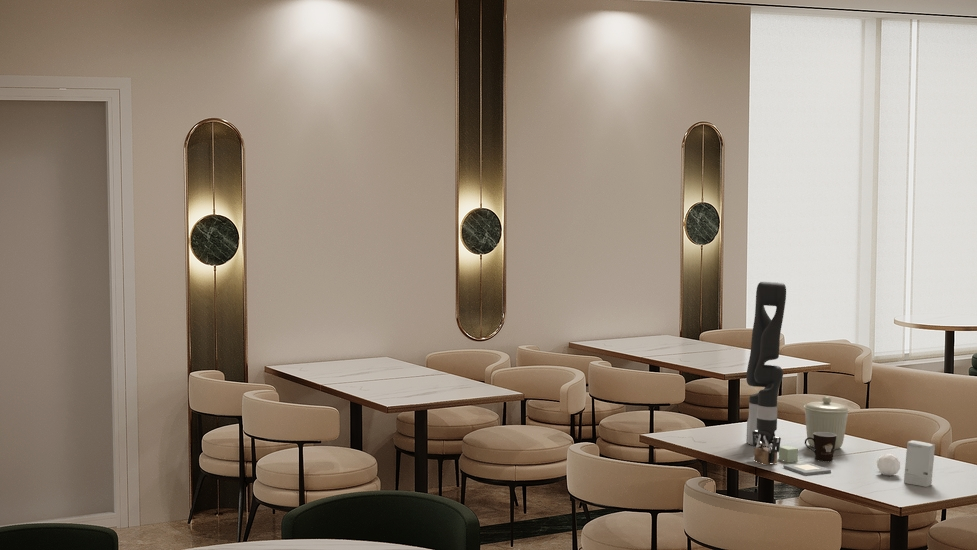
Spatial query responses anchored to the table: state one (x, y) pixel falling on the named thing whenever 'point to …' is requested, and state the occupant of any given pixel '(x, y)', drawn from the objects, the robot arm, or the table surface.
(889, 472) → the white rounded lump
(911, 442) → the skincare box
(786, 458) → the sage cube
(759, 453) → the walnut block
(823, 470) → the slate board
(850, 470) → the table surface
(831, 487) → the table surface
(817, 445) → the coffee mug
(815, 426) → the canister
